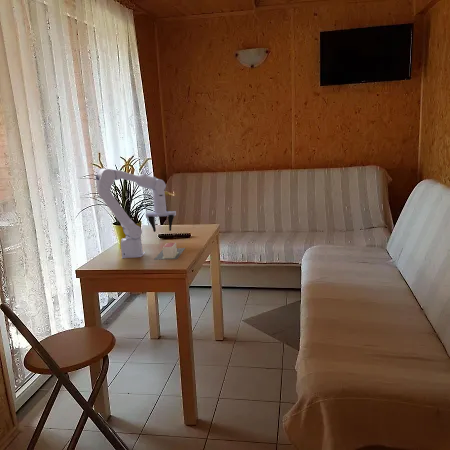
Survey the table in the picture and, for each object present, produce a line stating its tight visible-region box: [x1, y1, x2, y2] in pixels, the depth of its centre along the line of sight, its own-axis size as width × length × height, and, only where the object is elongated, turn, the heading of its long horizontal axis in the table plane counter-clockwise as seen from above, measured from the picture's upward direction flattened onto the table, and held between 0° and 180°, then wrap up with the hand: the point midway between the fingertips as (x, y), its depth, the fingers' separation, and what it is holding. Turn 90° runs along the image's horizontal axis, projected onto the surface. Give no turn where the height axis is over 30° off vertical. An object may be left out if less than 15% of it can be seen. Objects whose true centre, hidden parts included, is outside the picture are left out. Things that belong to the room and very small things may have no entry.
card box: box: [162, 242, 177, 258], centre depth 206 cm, size 8×4×5 cm, turn 173°
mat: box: [153, 247, 186, 261], centre depth 210 cm, size 11×18×1 cm, turn 173°
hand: (162, 231), depth 217 cm, fingers open, 7 cm apart
